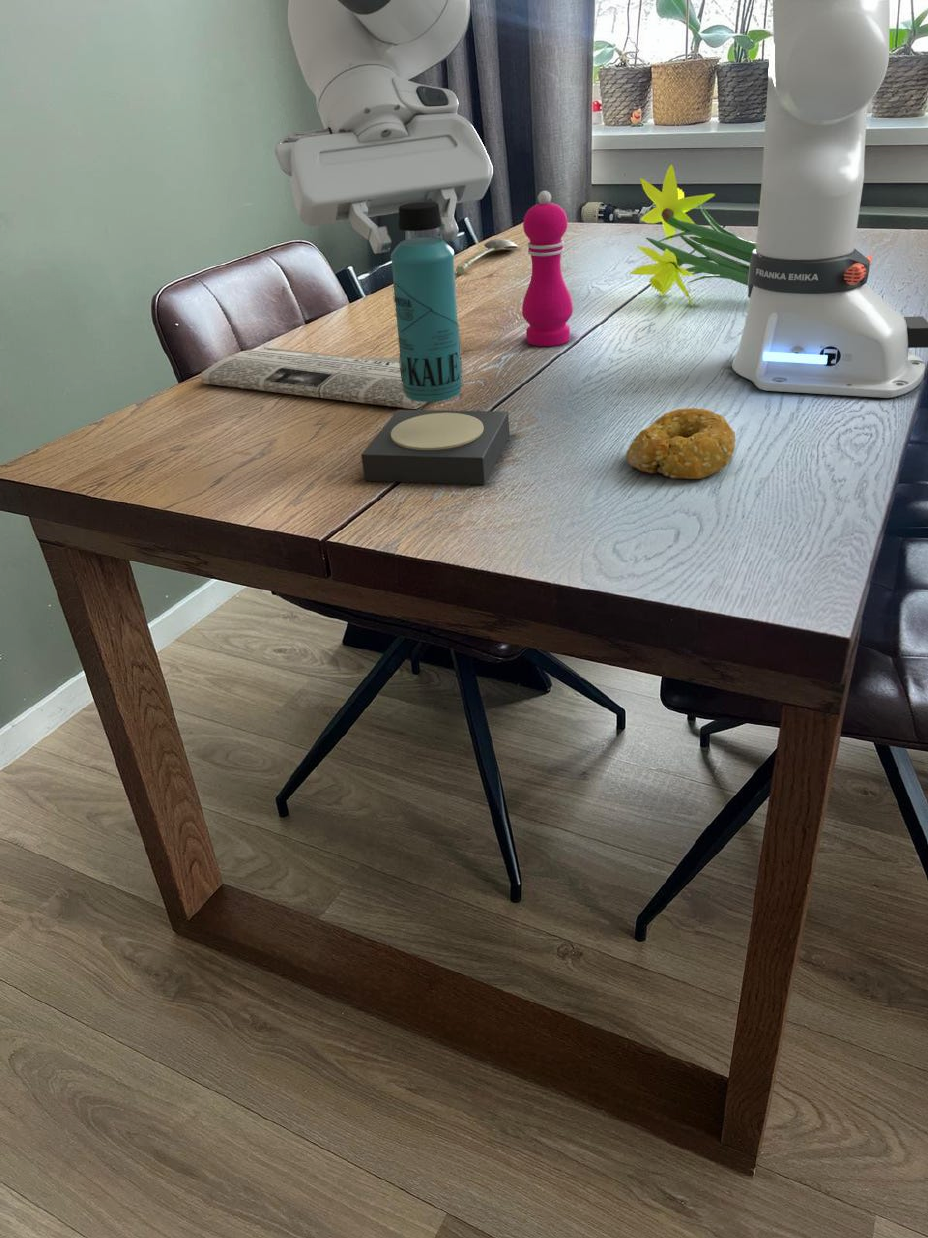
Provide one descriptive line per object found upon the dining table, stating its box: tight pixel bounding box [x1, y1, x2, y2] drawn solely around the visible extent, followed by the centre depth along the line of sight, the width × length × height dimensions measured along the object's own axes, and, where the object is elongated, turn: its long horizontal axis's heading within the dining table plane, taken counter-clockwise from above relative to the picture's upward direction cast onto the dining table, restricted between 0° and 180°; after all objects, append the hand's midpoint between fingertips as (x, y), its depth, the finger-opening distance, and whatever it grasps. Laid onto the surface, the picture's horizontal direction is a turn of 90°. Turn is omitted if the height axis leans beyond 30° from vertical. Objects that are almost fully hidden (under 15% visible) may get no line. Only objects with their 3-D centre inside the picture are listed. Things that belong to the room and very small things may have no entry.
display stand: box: [361, 409, 510, 486], centre depth 103 cm, size 13×13×3 cm
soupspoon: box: [455, 238, 519, 276], centre depth 183 cm, size 22×3×7 cm
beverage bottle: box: [390, 202, 464, 403], centre depth 95 cm, size 6×7×20 cm
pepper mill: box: [521, 190, 574, 347], centre depth 132 cm, size 7×7×20 cm
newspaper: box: [200, 346, 428, 410], centre depth 127 cm, size 35×12×4 cm, turn 62°
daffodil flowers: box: [629, 163, 756, 307], centre depth 144 cm, size 17×15×35 cm
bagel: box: [625, 407, 736, 480], centre depth 96 cm, size 10×11×5 cm
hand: (417, 242), depth 92 cm, fingers closed on beverage bottle, 6 cm apart
